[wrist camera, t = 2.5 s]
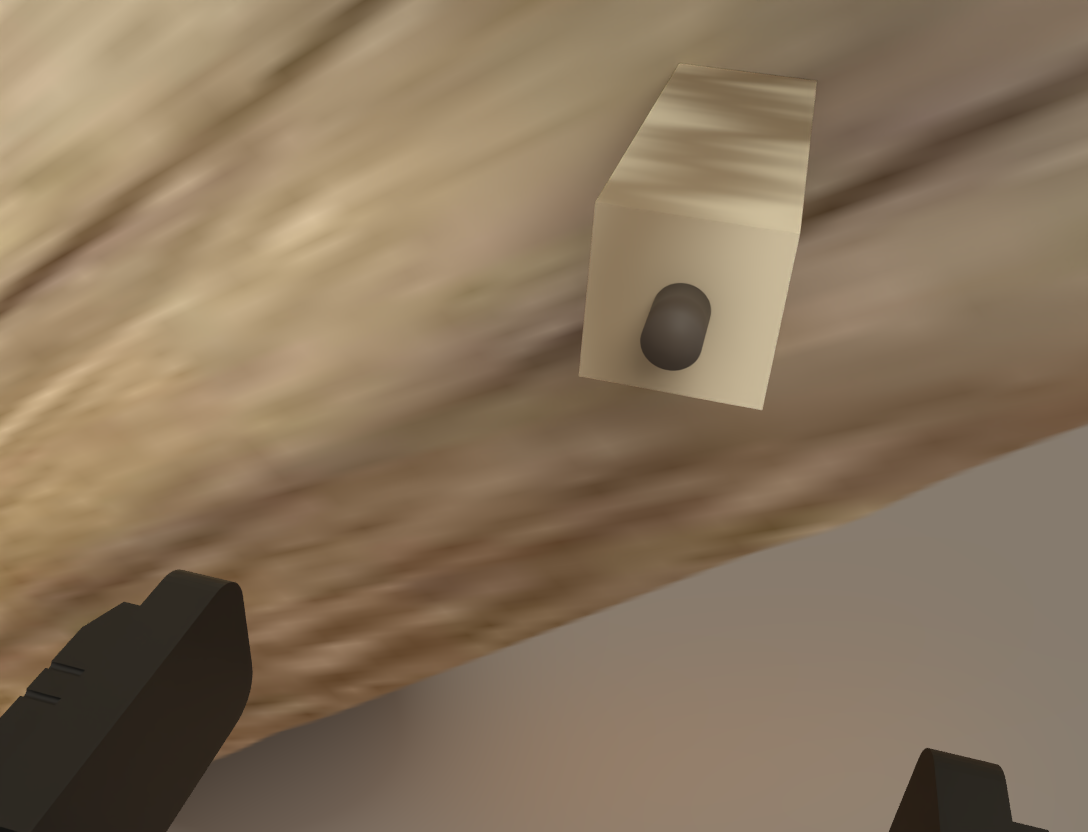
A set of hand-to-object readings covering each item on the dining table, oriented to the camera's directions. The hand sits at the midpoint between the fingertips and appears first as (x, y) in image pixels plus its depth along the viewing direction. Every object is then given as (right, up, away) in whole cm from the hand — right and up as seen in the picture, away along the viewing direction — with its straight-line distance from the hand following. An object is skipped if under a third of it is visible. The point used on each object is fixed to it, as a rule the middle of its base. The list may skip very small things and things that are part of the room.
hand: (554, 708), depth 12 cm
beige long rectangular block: (+6, +12, +19) cm, 23 cm away
